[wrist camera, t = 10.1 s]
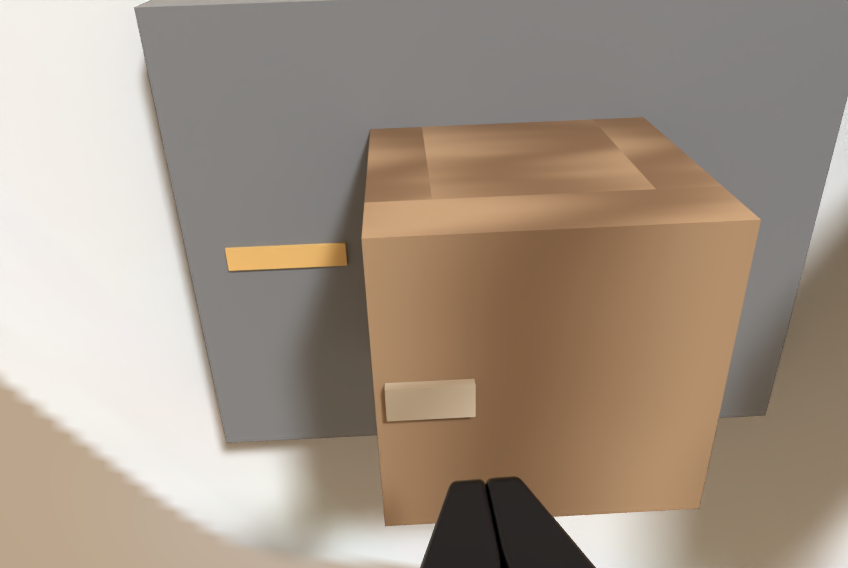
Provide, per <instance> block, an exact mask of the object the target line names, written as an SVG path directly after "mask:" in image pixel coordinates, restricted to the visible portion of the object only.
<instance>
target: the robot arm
mask: <svg viewBox="0 0 848 568" xmlns="http://www.w3.org/2000/svg"><path fill="white" fill-rule="evenodd" d="M420 568H596V567H595V566H594V565H593V564H592V563H591V561H590V560H589V559H588V558H587V557H586V556H585V554H584V553H583V552H582V551H581V550H580V548H579V547H578V546H577V545H576V544H575V542H574V541H573V540H572V539H571V538H570V536H569V535H568V534H567V533H566V532H565V530H564V529H563V528H562V527H561V526H560V525H559V523H558V522H557V521H556V520H555V519H554V517H553V516H552V515H551V514H550V513H549V511H548V510H547V509H546V508H545V507H544V505H543V504H542V503H541V502H540V501H539V500H538V498H537V497H536V496H535V495H534V494H533V492H532V491H531V490H530V489H529V488H528V486H527V485H526V484H525V483H524V482H523V481H522V480H521V479H520V478H519V477H516V476H511V477H497V478H489V479H488V480H487V481H486V483H485V482H484V481H483V480H481V479H470V480H457V481H453V482H452V483H451V484H450V486H449V488H448V491H447V494H446V497H445V499H444V502H443V505H442V508H441V511H440V513H439V516H438V519H437V522H436V525H435V527H434V530H433V533H432V536H431V539H430V541H429V544H428V547H427V550H426V553H425V555H424V558H423V561H422V564H421V567H420Z"/></svg>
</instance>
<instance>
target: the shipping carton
mask: <svg viewBox="0 0 848 568" xmlns="http://www.w3.org/2000/svg"><path fill="white" fill-rule="evenodd" d="M760 222H761V219H760V218H758V217H757V216H756V215H755V214H754V213H753V212H752V211H750V210H749V209H748V208H747V207H746V206H745V205H744V204H742V203H741V202H740V201H739V200H738V199H737V198H736V197H734V196H733V195H732V194H731V193H730V192H729V191H728V190H726V189H725V188H724V187H723V186H722V185H721V184H720V183H718V182H717V181H716V180H715V179H714V178H713V177H711V176H710V175H709V174H708V173H707V172H706V171H705V170H703V169H702V168H701V167H700V166H699V165H698V164H697V163H695V162H694V161H693V160H692V159H691V158H690V157H689V156H687V155H686V154H685V153H684V152H683V151H682V150H681V149H679V148H678V147H677V146H676V145H675V144H674V143H673V142H671V141H670V140H669V139H668V138H667V137H666V136H664V135H663V134H662V133H661V132H660V131H659V130H658V129H656V128H655V127H654V126H653V125H652V124H651V123H650V122H648V121H647V120H646V119H645V118H644V117H636V118H613V119H590V120H568V121H545V122H522V123H499V124H476V125H453V126H431V127H408V128H385V129H370V141H369V153H368V165H367V177H366V189H365V201H364V214H363V226H362V238H361V239H362V251H363V264H364V276H365V288H366V300H367V312H368V324H369V336H370V349H371V361H372V373H373V385H374V397H375V409H376V421H377V433H378V446H379V458H380V470H381V482H382V494H383V506H384V518H385V526H395V525H413V524H431V523H436V522H437V519H438V516H439V513H440V511H441V508H442V505H443V502H444V499H445V497H446V494H447V491H448V488H449V486H450V484H451V483H452V482H453V481H457V480H470V479H481V480H483V481H484V482H485V483H486V481H487V480H488V479H489V478H497V477H511V476H516V477H519V478H520V479H521V480H522V481H523V482H524V483H525V484H526V485H527V486H528V488H529V489H530V490H531V491H532V492H533V494H534V495H535V496H536V497H537V498H538V500H539V501H540V502H541V503H542V504H543V505H544V507H545V508H546V509H547V510H548V511H549V513H550V514H551V515H552V516H553V517H556V516H574V515H592V514H610V513H627V512H645V511H663V510H681V509H699V507H700V502H701V497H702V493H703V488H704V483H705V479H706V474H707V469H708V465H709V460H710V455H711V451H712V446H713V441H714V437H715V432H716V427H717V423H718V418H719V413H720V409H721V404H722V399H723V395H724V390H725V385H726V381H727V376H728V371H729V367H730V362H731V357H732V353H733V348H734V343H735V339H736V334H737V329H738V325H739V320H740V315H741V311H742V306H743V301H744V297H745V292H746V287H747V283H748V278H749V273H750V269H751V264H752V259H753V255H754V250H755V245H756V241H757V236H758V231H759V227H760Z"/></svg>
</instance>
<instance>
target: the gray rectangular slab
mask: <svg viewBox="0 0 848 568" xmlns="http://www.w3.org/2000/svg"><path fill="white" fill-rule="evenodd" d="M134 9H135V14H136V19H137V23H138V28H139V33H140V37H141V42H142V47H143V52H144V56H145V61H146V66H147V70H148V75H149V80H150V84H151V89H152V94H153V99H154V103H155V108H156V113H157V117H158V122H159V127H160V131H161V136H162V141H163V146H164V150H165V155H166V160H167V164H168V169H169V174H170V179H171V183H172V188H173V193H174V197H175V202H176V207H177V211H178V216H179V221H180V226H181V230H182V235H183V240H184V244H185V249H186V254H187V259H188V263H189V268H190V273H191V277H192V282H193V287H194V291H195V296H196V301H197V306H198V310H199V315H200V320H201V324H202V329H203V334H204V338H205V343H206V348H207V353H208V357H209V362H210V367H211V371H212V376H213V381H214V386H215V390H216V395H217V400H218V404H219V409H220V414H221V418H222V423H223V428H224V433H225V437H226V442H227V443H232V442H252V441H272V440H291V439H311V438H331V437H350V436H370V435H378V433H377V421H376V409H375V397H374V385H373V373H372V361H371V349H370V336H369V324H368V312H367V300H366V288H365V276H364V264H363V251H362V239H361V238H362V226H363V214H364V201H365V189H366V177H367V165H368V153H369V141H370V129H385V128H408V127H431V126H453V125H476V124H499V123H522V122H545V121H568V120H590V119H613V118H636V117H644V118H645V119H646V120H647V121H648V122H650V123H651V124H652V125H653V126H654V127H655V128H656V129H658V130H659V131H660V132H661V133H662V134H663V135H664V136H666V137H667V138H668V139H669V140H670V141H671V142H673V143H674V144H675V145H676V146H677V147H678V148H679V149H681V150H682V151H683V152H684V153H685V154H686V155H687V156H689V157H690V158H691V159H692V160H693V161H694V162H695V163H697V164H698V165H699V166H700V167H701V168H702V169H703V170H705V171H706V172H707V173H708V174H709V175H710V176H711V177H713V178H714V179H715V180H716V181H717V182H718V183H720V184H721V185H722V186H723V187H724V188H725V189H726V190H728V191H729V192H730V193H731V194H732V195H733V196H734V197H736V198H737V199H738V200H739V201H740V202H741V203H742V204H744V205H745V206H746V207H747V208H748V209H749V210H750V211H752V212H753V213H754V214H755V215H756V216H757V217H758V218H760V219H761V222H760V227H759V231H758V236H757V241H756V245H755V250H754V255H753V259H752V264H751V269H750V273H749V278H748V283H747V287H746V292H745V297H744V301H743V306H742V311H741V315H740V320H739V325H738V329H737V334H736V339H735V343H734V348H733V353H732V357H731V362H730V367H729V371H728V376H727V381H726V385H725V390H724V395H723V399H722V404H721V409H720V413H719V418H724V417H744V416H763V415H766V411H767V407H768V403H769V399H770V395H771V391H772V388H773V384H774V380H775V376H776V372H777V368H778V364H779V360H780V357H781V353H782V349H783V345H784V341H785V337H786V333H787V329H788V325H789V322H790V318H791V314H792V310H793V306H794V302H795V298H796V294H797V291H798V287H799V283H800V279H801V275H802V271H803V267H804V263H805V260H806V256H807V252H808V248H809V244H810V240H811V236H812V232H813V229H814V225H815V221H816V217H817V213H818V209H819V205H820V201H821V198H822V194H823V190H824V186H825V182H826V178H827V174H828V170H829V167H830V163H831V159H832V155H833V151H834V147H835V143H836V139H837V136H838V132H839V128H840V124H841V120H842V116H843V112H844V108H845V105H846V101H847V97H848V0H150V1H148V2H146V3H143V4H141V5H139V6H137V7H134Z"/></svg>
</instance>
